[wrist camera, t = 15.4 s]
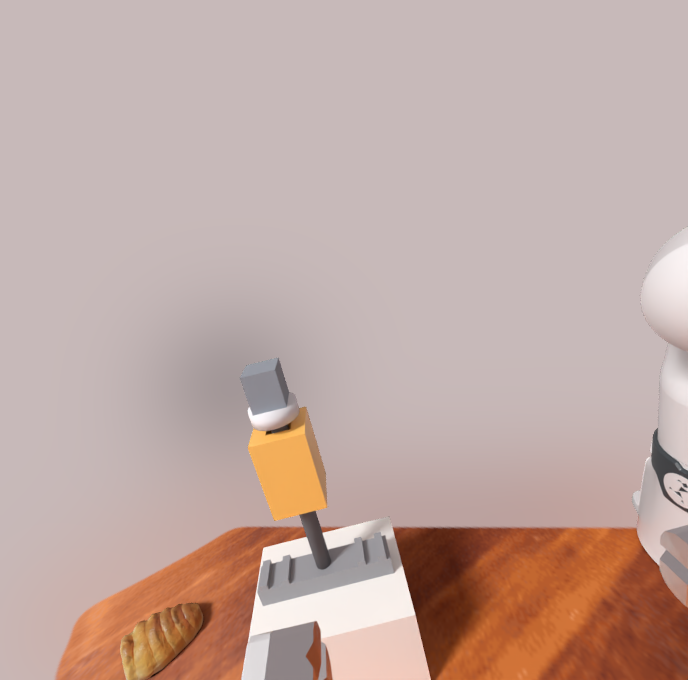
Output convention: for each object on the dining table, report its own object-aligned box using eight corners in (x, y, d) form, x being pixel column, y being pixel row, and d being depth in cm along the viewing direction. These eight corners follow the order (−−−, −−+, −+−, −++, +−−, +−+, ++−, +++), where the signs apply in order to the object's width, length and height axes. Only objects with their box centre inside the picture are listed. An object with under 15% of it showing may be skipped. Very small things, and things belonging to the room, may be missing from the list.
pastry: (198, 598, 51) (189, 579, 50) (210, 637, 46) (200, 616, 45) (126, 649, 47) (114, 629, 46) (130, 698, 41) (116, 677, 40)
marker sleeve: (325, 472, 38) (306, 406, 35) (327, 507, 33) (304, 433, 31) (279, 484, 38) (256, 418, 35) (274, 520, 33) (247, 447, 31)
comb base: (403, 575, 47) (385, 499, 44) (432, 685, 36) (410, 594, 32) (285, 605, 47) (257, 531, 44) (276, 724, 36) (236, 638, 32)
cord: (346, 554, 41) (286, 353, 33) (350, 590, 37) (282, 370, 29) (308, 563, 41) (240, 364, 33) (307, 601, 37) (229, 383, 29)
